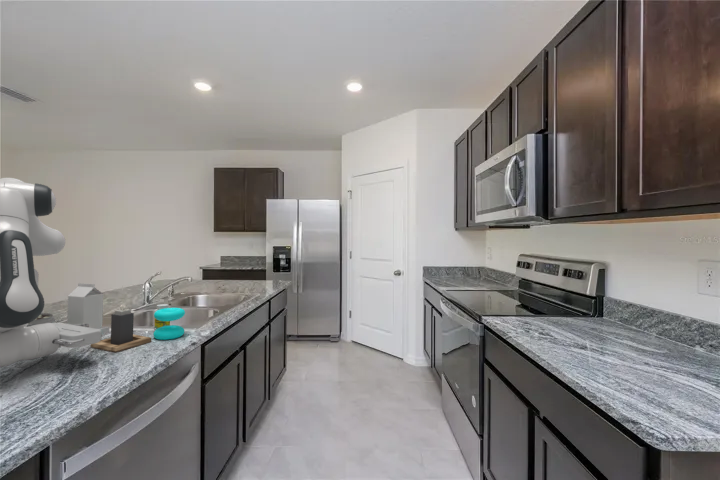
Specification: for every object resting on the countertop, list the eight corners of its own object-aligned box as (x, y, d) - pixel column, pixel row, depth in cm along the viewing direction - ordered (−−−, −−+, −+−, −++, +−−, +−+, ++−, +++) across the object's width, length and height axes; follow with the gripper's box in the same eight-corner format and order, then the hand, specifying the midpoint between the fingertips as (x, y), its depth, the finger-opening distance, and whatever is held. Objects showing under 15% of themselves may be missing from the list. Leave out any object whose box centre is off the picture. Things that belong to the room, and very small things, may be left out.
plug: (110, 344, 109) (111, 306, 109) (123, 340, 113) (125, 303, 113) (119, 345, 108) (120, 307, 108) (132, 342, 112) (133, 305, 112)
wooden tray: (90, 347, 107) (90, 342, 107) (127, 337, 118) (127, 332, 118) (115, 352, 103) (115, 347, 103) (151, 341, 114) (151, 337, 114)
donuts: (174, 313, 115) (147, 312, 116) (174, 341, 116) (146, 340, 116) (190, 307, 125) (165, 306, 126) (189, 333, 125) (164, 332, 126)
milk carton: (82, 339, 114) (84, 285, 114) (66, 337, 116) (68, 284, 116) (102, 333, 121) (103, 283, 121) (86, 332, 123) (88, 282, 123)
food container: (56, 348, 105) (56, 317, 105) (28, 353, 100) (29, 321, 100) (52, 339, 113) (53, 311, 113) (27, 343, 109) (28, 313, 109)
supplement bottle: (171, 326, 133) (172, 303, 133) (167, 330, 128) (167, 306, 128) (157, 327, 132) (157, 303, 132) (151, 331, 127) (152, 306, 127)
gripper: (67, 333, 86) (120, 321, 99) (21, 324, 93) (77, 314, 106) (66, 356, 86) (120, 341, 99) (20, 346, 93) (76, 333, 106)
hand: (97, 327), depth 103 cm, fingers open, 8 cm apart
